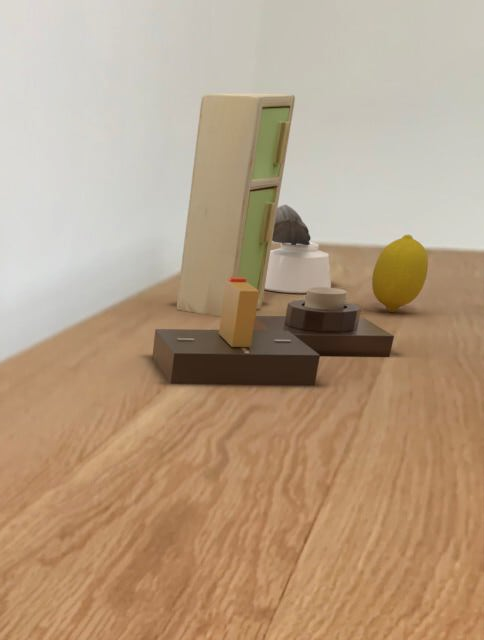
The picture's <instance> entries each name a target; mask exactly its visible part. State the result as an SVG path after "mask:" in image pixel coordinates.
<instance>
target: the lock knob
mask: <svg viewBox="0 0 484 640" xmlns="http://www.w3.org/2000/svg"><path fill="white" fill-rule="evenodd" d="M258 296H259V290H257V289H256V288H254V287H253V286H252V285H250V284H249V283H247V282H246V279H245V278H244V277H228V280H226V284H225V291H224V298H223V305H222V313H221V317H220V319H219V327H218V330H219V335H220V336H221V337H222V338H223V339H224V340H225V341H226V342H227V343H228V344H229V345H230V346H231V347H249V348H250V347H251V342H252V335H253V329H254V322H255V316H257V310H258V309H257V303H258Z"/></svg>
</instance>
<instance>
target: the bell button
mask: <svg viewBox="0 0 484 640" xmlns="http://www.w3.org/2000/svg"><path fill="white" fill-rule="evenodd" d="M347 294H348V291H347V290H345V289H342V288H337V287H331V288H325V287H317V288H309V289H307V293H305V299H306V300H305V299H304V300H305V305H304V307H309V308H314V309H324V310H338V309H344V305H345V302H346V300H347Z"/></svg>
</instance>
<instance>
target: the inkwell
mask: <svg viewBox="0 0 484 640" xmlns="http://www.w3.org/2000/svg"><path fill="white" fill-rule="evenodd" d="M272 242H274V243H279V244H280V247H279V248H275V249H271V251H270V256H269V263H268V269H267V276H266V282H265V289H264V291H270V292H276V293H285V294H307V289H309V288H317V287H325V288H332V278H331V264H330V263H331V262H330V254H329V253H328V252H325V251H322V250H320V249H319V247H320V244H319V243H317V242H313V241H311V235H310V232H309V228H308V226H307V225H306V223H305V222H304V221H303V220H302V218H301V216H300V214H299V213H298V212H297V211H296V210H295V209H294V208H292V207H291V206H289V205H288V204H282V205H280V206H278V207H277V213H276V219H275V225H274V231H273V238H272Z"/></svg>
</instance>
